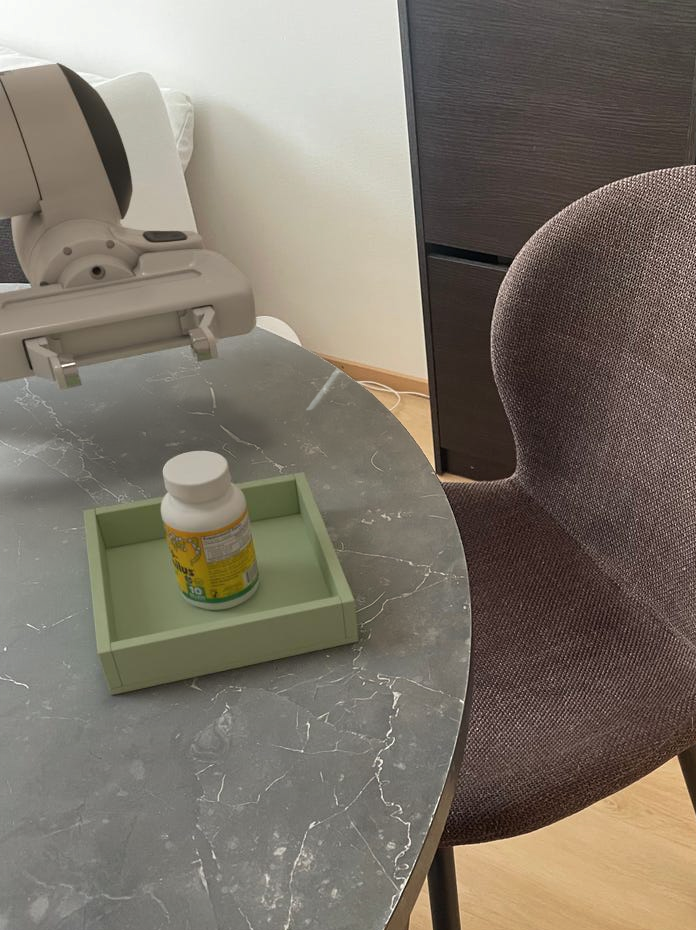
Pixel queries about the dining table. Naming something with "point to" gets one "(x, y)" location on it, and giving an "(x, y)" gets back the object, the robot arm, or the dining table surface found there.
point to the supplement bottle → (208, 531)
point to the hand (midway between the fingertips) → (139, 363)
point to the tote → (214, 631)
